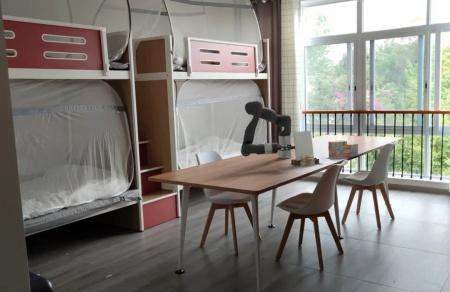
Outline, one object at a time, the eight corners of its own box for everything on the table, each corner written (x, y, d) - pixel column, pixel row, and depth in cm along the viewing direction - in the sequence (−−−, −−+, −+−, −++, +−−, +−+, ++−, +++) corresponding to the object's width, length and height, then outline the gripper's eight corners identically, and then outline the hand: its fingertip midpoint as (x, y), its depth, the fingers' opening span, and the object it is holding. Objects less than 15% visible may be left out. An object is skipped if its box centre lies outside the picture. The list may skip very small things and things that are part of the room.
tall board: (297, 163, 299) (294, 131, 301) (296, 163, 302) (293, 132, 304) (314, 162, 301) (311, 130, 302) (312, 162, 304) (309, 131, 305)
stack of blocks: (354, 155, 336) (353, 139, 334) (358, 156, 330) (358, 140, 328) (328, 157, 331) (328, 141, 330) (332, 158, 325) (331, 142, 324)
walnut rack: (295, 168, 292) (294, 162, 291) (289, 166, 304) (289, 159, 303) (323, 166, 295) (323, 160, 294) (317, 163, 307) (317, 157, 306)
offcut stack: (302, 166, 293) (301, 157, 292) (299, 164, 297) (299, 156, 297) (314, 165, 294) (314, 156, 293) (312, 163, 299) (312, 155, 298)
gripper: (272, 144, 289) (296, 142, 291) (267, 141, 303) (289, 140, 305) (273, 155, 290) (296, 153, 292) (267, 152, 304) (290, 150, 306)
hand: (293, 146), depth 299 cm, fingers open, 8 cm apart
